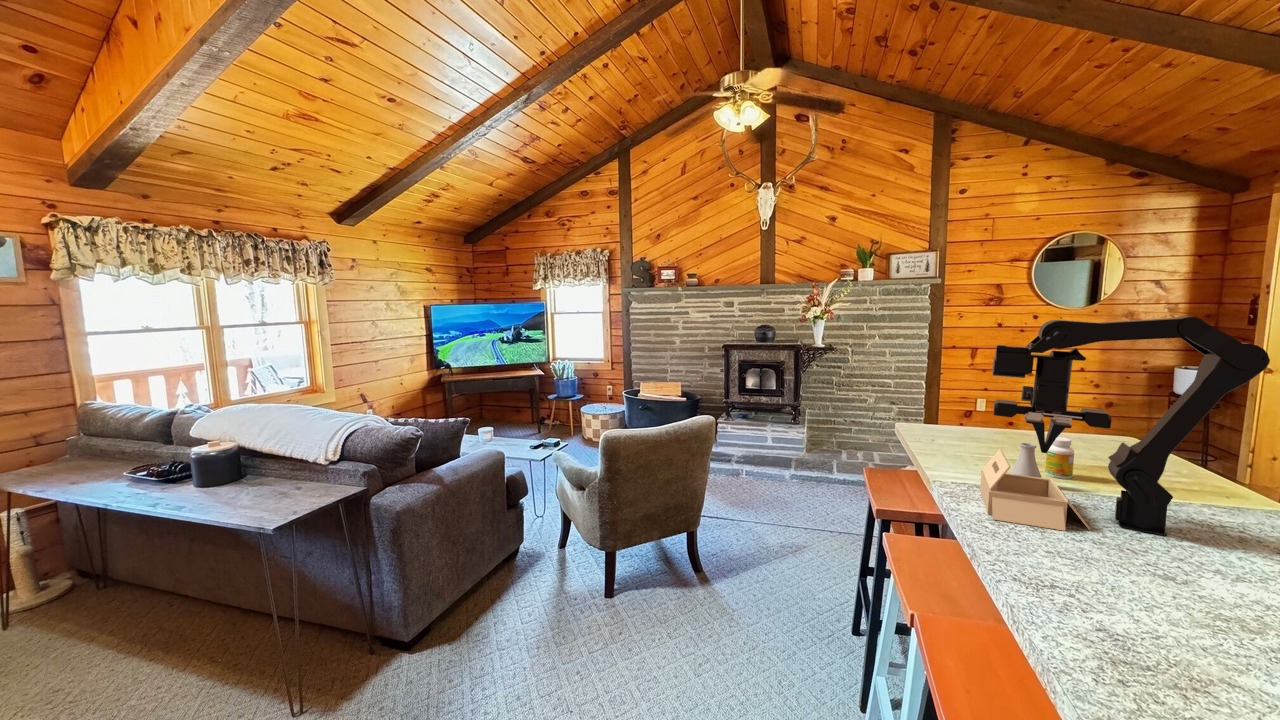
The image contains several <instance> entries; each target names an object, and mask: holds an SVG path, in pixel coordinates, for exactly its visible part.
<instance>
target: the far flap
mask: <svg viewBox="0 0 1280 720" xmlns="http://www.w3.org/2000/svg"><path fill="white" fill-rule="evenodd" d="M1010 468H1011V465H1010V463H1009V461H1008V460H1007V458H1006V456H1005V454H1004V452H1003V451H1002V449H1000V448H999V449H998V450H997V452H996V453H995V454H994V455H993V456H992V457H991V458H990V460H989V461H988V462H987V464H986V465H985V466H984V467H983V468H982V470H981V471H983V473H984V475H985V478H986V480H987V483H988V486H989V488H990V489H992V488H993V487H994V486H995V485H996V483H997V482H998V481H999V480H1000V479H1001V478H1002V477H1003V475H1004V474H1005V473H1006V474H1007V472H1008V471H1009V470H1010Z"/></svg>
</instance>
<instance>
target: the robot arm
mask: <svg viewBox="0 0 1280 720" xmlns="http://www.w3.org/2000/svg"><path fill="white" fill-rule="evenodd" d="M1156 339H1157V340H1158V339H1159V340H1160V339H1181V340H1182V341H1184V342H1185V343H1186V344H1188V345H1189V346H1190V347H1192V348H1193V349H1195V350H1196V351H1197V352H1199V353H1201V354H1202V355H1204V356H1203V357H1202V360H1201V361H1200V362H1199V365H1198V368H1197V371H1196V373H1195V377H1194V381H1192V383H1191V384H1190V385H1189V386H1188V388H1187V389H1185V390H1184V392H1183V393H1182V394H1181V395H1180V396H1179V397H1178V399H1177V400H1176V401H1175V402H1174V403H1173V404H1172V405H1171V406H1170V408H1169V409H1167V411H1166V412H1165V413H1164V414H1163V415H1162V416H1161V418H1160V419H1159V420H1158V421H1157V422H1156V423H1155V425H1154V426H1152V427H1151V429H1150V430H1149V431H1148V432H1147V433H1146V435H1145V436H1143V438H1142V439H1141V440H1140V441H1138V442H1136V443H1134V444H1133V445H1130V446H1129V445H1128V444H1126V443H1124V442H1121V443H1120V445H1118V448H1117V449H1116V451H1115V452H1114V453H1113V454H1112V455H1109V456H1108V457H1107V458H1108V459H1109V460H1110V461H1109V463H1108V466H1107V468H1108V471H1109V474H1110V475H1111V476H1112V477H1113V478H1114V480H1115V481H1116V482H1117V483H1118V485H1119V486H1120V487H1122V490H1121V491H1120V497H1119V496H1118V497H1116V498H1115V509H1114V518H1115V521H1116V522H1118V526H1119V527H1121V528H1124V529H1129V530H1135V531H1139V532H1144V533H1150V534H1154V535H1160V536H1164V537H1166V536H1168V532H1167V530H1166V526H1167V523H1166V522H1167V515H1168V506H1169V504H1170V503H1171V501H1172V500H1173V498H1174V496H1173V494H1171V492H1169V491H1168V490H1167V489H1166V488H1165V487H1164V486H1163V485H1162V484H1161V483H1160V482H1159V481H1160V478H1161V477H1162V475H1163V474H1164V472H1165V468H1166V465H1167V461H1168V458H1169V456H1170V455H1171V454H1172V453H1173V452H1174V450H1175V449H1176V448H1177V447H1178V446H1180V444H1181V443H1182V442H1183V441H1184V440H1185V438H1187V436H1188V435H1189V434H1190V433H1191V432H1192V431H1193V430H1194V429H1195V428H1196V427H1197V426H1198V425H1199V423H1200V422H1201V421H1202V420H1203V419H1204V418H1205V417H1207V415H1208V414H1209V413H1210V412H1211V411H1212V410H1213V408H1214V407H1216V405H1218V403H1219V402H1220V401H1221V399H1223V398H1224V397H1225V396H1226V395H1227V394H1229V393H1230V392H1232V391H1234V390H1236V389H1238V388H1239V387H1242V386H1244V385H1245V384H1247V383H1248V382H1250V381H1251V380H1253V379H1254V378H1256V376H1258V375H1260V374H1261V373H1262V372H1263V371H1264V370H1266V369H1267V367H1269V365H1270V362H1271V359H1270V357H1269V353H1268V352H1267V351H1266V350H1265V349H1264V348H1263V347H1261V346H1259V345H1255V344H1253V343H1249V342H1248V343H1247V342H1241V341H1240V340H1238V339H1237V338H1235V337H1233V336H1231V335H1229V334H1227V333H1225V332H1223V331H1221V330H1220V329H1218V328H1215V327H1214V326H1212V325H1210V324H1208V323H1207V322H1206V321H1205V320H1204V319H1203V318H1200V317H1198V316H1190V315H1189V316H1186V315H1183V316H1178V317H1171V318H1169V317H1168V318H1155V319H1136V320H1135V319H1134V320H1122V321H1121V320H1120V321H1104V322H1103V321H1102V322H1094V321H1093V322H1092V321H1083V320H1082V321H1079V320H1066V319H1052V320H1049V321H1046V322H1045V323H1043V324H1042V325H1040V327H1039V329H1038V333H1037V336H1036V337H1035V338H1034V339H1033V340H1032V341H1030V342H1028V344H1027V345H1026V346H1013V345H1012V346H1010V345H1004V344H996V347H995V353H994V358H993V359H992V371H991V372H992V373H991V375H992V376H993V377H994V376H995V377H1006V378H1007V377H1008V378H1020V379H1025V377H1026V375H1027V376H1028V375H1031V374H1032V373H1033V370H1034V359H1036V365H1035V373H1034V374H1035V375H1034V381H1033V386H1028V385H1027V386H1026V385H1023V386H1022V389H1021V399H1020V401H1022V402H1029V405H1030V406H1029V405H1018V404H1017V401H1016V400H1015V401H1014V400H1006V399H995V400H994V401H993V408H992V412H993V416H995V417H1004V418H1005V417H1006V418H1013V417H1015V416H1016V415H1023V416H1024V421H1025V423H1026V424H1030V425H1032V426H1033V428H1034V431H1035V433H1036V437H1037V441H1038V445H1039V447H1040V448H1039V449H1040V451H1041V453H1042V454H1046V453H1047V452H1048V450H1049V449H1050V447H1051V445H1052V444H1053V442H1054V441H1055V439H1056V438H1057V437H1060V435H1061V434H1062V433H1063V431H1064V430H1065V429H1072V427H1073V426H1072V425H1073V424H1071V422H1073V421H1079V422H1084V423H1085V424H1087V426H1089V427H1091V428H1098V429H1099V428H1100V429H1111V426H1112V416H1111V415H1110V414H1109V413H1107V412H1106V411H1105V410H1104V409H1097V408H1088V407H1087V408H1086V407H1081V409H1080V411H1077V410H1075V411H1074V410H1068V404H1069V394H1070V387H1071V385H1070V384H1071V378H1072V369H1073V362H1074V361H1083V362H1086V360H1087V357H1086V356H1084V355H1083V354H1082V353H1081V352H1080V351H1079V349H1078V348H1077V347H1081V346H1086V345H1089V344H1094V343H1095V344H1096V343H1100V342H1112V341H1113V342H1114V341H1117V342H1118V341H1138V340H1156ZM1069 348H1071V349H1070V350H1069V351H1066V350H1064V349H1069ZM1052 349H1057V350H1052ZM1062 349H1063V350H1062ZM1050 350H1051V351H1050ZM1049 351H1050V352H1049ZM1046 352H1049V353H1050V354H1044V353H1046ZM1044 418H1050V420H1049V425H1048V429H1047V433H1046V436H1045V422H1044V420H1043V419H1044ZM1123 489H1124V490H1123Z"/></svg>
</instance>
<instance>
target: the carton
mask: <svg viewBox="0 0 1280 720" xmlns="http://www.w3.org/2000/svg"><path fill="white" fill-rule="evenodd" d="M979 485H980V486H979V487H980V488H979V492H980V495H981V498H982V501H983V505H984V506H985V510H986V513H987V515H988V516H989V515H991V516H992V520H993V521H1000V522H1006V523H1013V524H1018V525H1023V526H1025V525H1026V526H1032V527H1038V528H1042V529H1043V528H1045V529H1051V530H1057V531H1063V532H1064V531H1066V525H1067V515H1068V514H1067V513H1068V512H1067V511H1068V505H1069V507H1070V508H1071V509H1072V511H1073V512H1074V513H1075V514H1076V515H1077V517H1078V519H1080V520H1081V522H1082V523H1083V524H1084V525H1085V527H1086V528H1087V529H1088V530H1091V528H1090V526H1089V524H1088V523H1086V521H1085V520H1084V518H1083V517H1082V516H1081V514H1080V513H1079V512H1078V510H1077V509H1076V508H1075V506H1074V505H1073V504H1072V502H1071V501H1070V500H1069V499H1068V498H1067V496H1066V495H1065V493H1064V492H1063V491H1062V490H1061V489H1060V488H1059V486H1058V485H1057V483H1056V482H1055V480H1053V479H1052V478H1047V477H1046V478H1045V477H1042V478H1039V477H1031V476H1023V475H1014V474H1009V473H1007V472H1006V473H1005V474H1004V475H1003V477H1002V478H1001V479H1000V480H999V481H998V482H997V490H992V491H991V490H990V488H989V486H988V483H987V480H986V478H985V475H984V473H983V470H981V471H980V484H979Z"/></svg>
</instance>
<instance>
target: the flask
mask: <svg viewBox="0 0 1280 720" xmlns="http://www.w3.org/2000/svg"><path fill="white" fill-rule="evenodd" d="M1018 445H1019V446H1020V447H1019V449H1020V450H1019V454H1018V458H1017V460H1016V461H1015V463H1014V464H1013V467H1012V469H1011V471H1010V472H1009V473H1008V474H1014V475H1023V476H1031V477H1039V478H1043V477H1042V475H1041V472H1040V470H1039V466H1038V463H1037V461H1036V460H1037V459H1036V455H1035V454H1036V453H1035V451H1036V450H1035V449H1037V448H1038V447H1037V445H1036V444H1035V443H1030V442H1020V443H1018Z"/></svg>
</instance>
